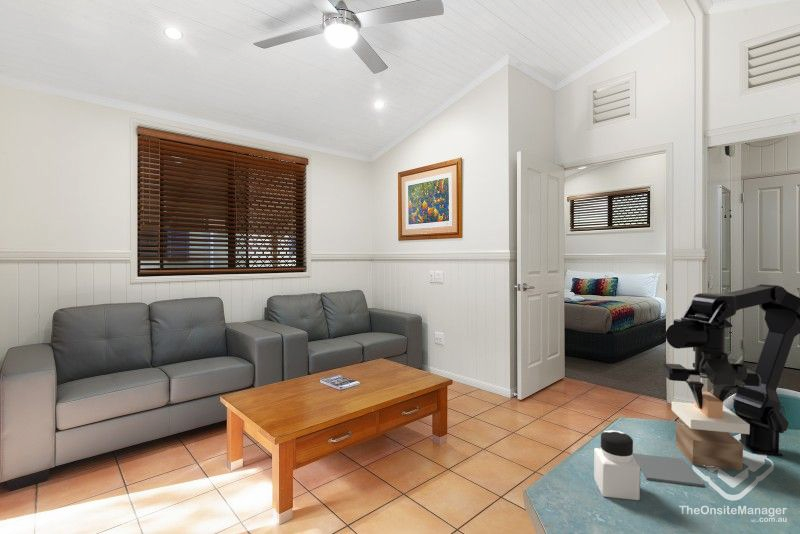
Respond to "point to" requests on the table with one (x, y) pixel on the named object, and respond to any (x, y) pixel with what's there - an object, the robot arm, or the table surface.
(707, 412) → the lid
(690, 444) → the walnut box
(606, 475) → the medicine bottle
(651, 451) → the table surface
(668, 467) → the rubber mat
